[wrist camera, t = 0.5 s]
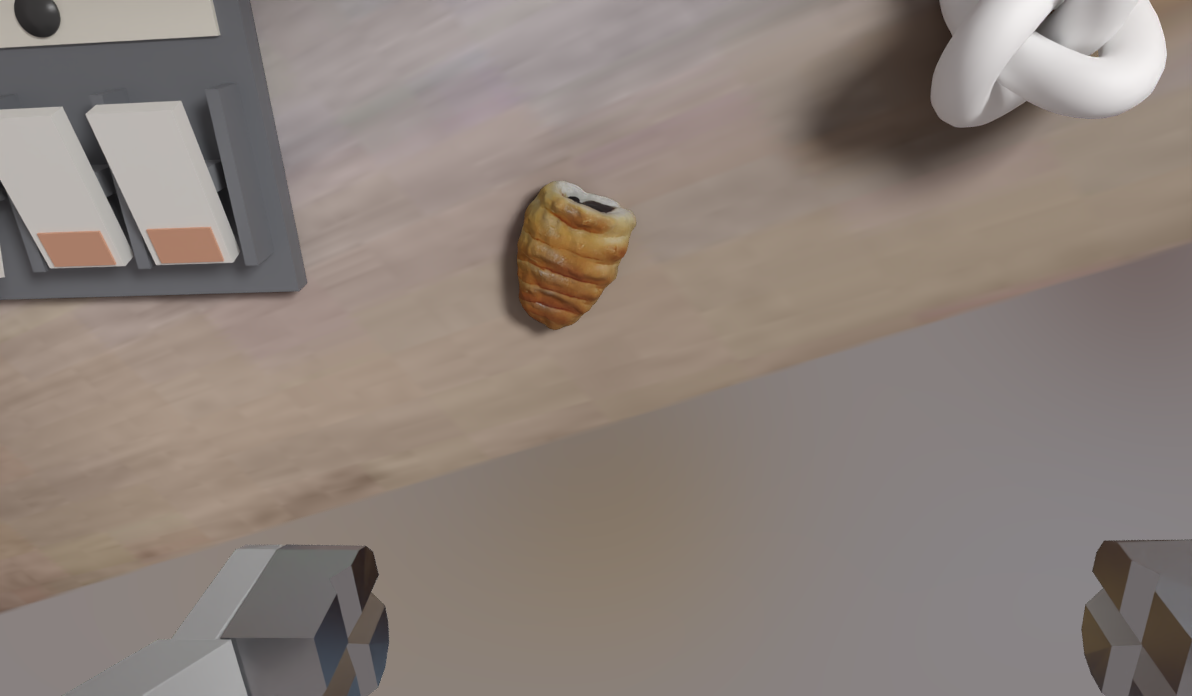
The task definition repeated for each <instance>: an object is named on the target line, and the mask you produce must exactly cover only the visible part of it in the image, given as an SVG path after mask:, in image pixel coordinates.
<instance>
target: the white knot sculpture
mask: <svg viewBox="0 0 1192 696" xmlns="http://www.w3.org/2000/svg"><path fill="white" fill-rule="evenodd" d="M939 2H940V7H941V12H942V15H943V18H944V20H945V22H946V25H947V27H948V28H949V30H950V32H951V34H952V38H951V39H950V41H949V43H948V44H947V46H946V48H945V50H944V51H943V53H942V55H941V57H940V59H939V61H938V63H937V65H936V68H935V71H934V74H933V78H932V86H931V97H930V99H931V104H932V106H933V108H934V110H935V112H936V113H937V115H938V117H939V118H940V119H941V120H942V121H944V122H946V123H948V124H950V125H952V126H954V127H960V128H963V127H976V126H981V125H984V124H987V123H989V122H991V121H993V120H995V119H997V118H999V117H1001V116H1003V115H1005V114H1007V113H1008V112H1010V111H1012V110H1013V109H1015V108H1017V107H1018V106H1020V105H1021V104H1023V103H1024V102H1026V101H1028V102H1030V103H1032V104H1033V105H1035V106H1038V107H1040V108H1042V109H1044V110H1047V111H1050V112H1053V113H1056V114H1060V115H1064V116H1069V117H1074V118H1085V119H1098V118H1107V117H1112V116H1116V115H1119V114H1121V113H1123V112H1125V111H1128V110H1130V109H1131V108H1133V107H1134V106H1136V105H1138V104H1139V103H1141V102H1142V101H1144V100H1145V99H1146V98H1147V97H1148V96H1149V95H1150V94H1151V93H1152V92H1153V90H1154V88H1155V86H1156V84H1157V83H1158V81H1159V79H1160V77H1161V74H1162V72H1163V70H1164V68H1165V63H1166V57H1167V52H1166V44H1165V38H1164V34H1163V30H1162V27H1161V24H1160V22H1159V19H1158V16H1157V14H1156V12H1155V10H1154V9H1153V7H1152V5H1151V3H1150V2H1149V0H939ZM1052 10H1055V11H1054V12H1053V13H1052V14H1050V15H1049V16H1048V14H1049V13H1050V12H1051V11H1052ZM1047 16H1048V17H1047ZM1046 17H1047V18H1046ZM1045 18H1046V19H1045ZM1044 19H1045V20H1044ZM1043 20H1044V21H1043ZM1097 50H1098V52H1099V57H1091V56H1090V55H1091V54H1093V53H1094V52H1095V51H1097Z"/></svg>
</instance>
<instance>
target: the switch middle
mask: <svg viewBox="0 0 1192 696" xmlns="http://www.w3.org/2000/svg"><path fill="white" fill-rule="evenodd" d="M0 180H1V182H2V184H3V186H4V187H5V189H6V191H7V193H8V195H9V196H10V198H11V200H12V202H13V203H14V205H15V207H16V209H17V211H18V212H19V214H20V216H21V218H22V219H23V221H24V223H25V225H26V227H27V228H28V230H29V232H30V234H31V235H32V237H33V239H34V241H35V243H36V244H37V246H38V248H39V250H40V252H41V253H42V255H43V257H44V259H45V260H46V262H47V264H48V266H49V268H81V267H112V266H126V265H127V264H128V262H129V261H130V260H131V259H132V258H133V256H134V254H133V252H132V250H131V248H130V245H129V243H128V241H127V239H126V237H125V235H124V233H123V231H122V229H121V227H120V225H119V223H118V221H117V219H116V217H115V214H114V212H113V210H112V208H111V206H110V204H109V202H108V200H107V198H106V196H105V194H104V192H103V190H102V188H101V185H100V183H99V181H98V179H97V177H96V175H95V173H94V171H93V169H92V167H91V165H90V163H89V161H88V159H87V157H86V154H85V152H84V150H83V148H82V146H81V144H80V142H79V140H78V138H77V136H76V134H75V132H74V130H73V128H72V125H71V123H70V121H69V119H68V117H67V115H66V113H65V111H64V109H63V107H42V108H22V109H1V110H0Z"/></svg>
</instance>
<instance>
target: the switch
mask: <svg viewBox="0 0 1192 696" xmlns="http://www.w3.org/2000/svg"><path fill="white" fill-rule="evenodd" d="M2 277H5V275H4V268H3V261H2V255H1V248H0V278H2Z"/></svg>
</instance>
